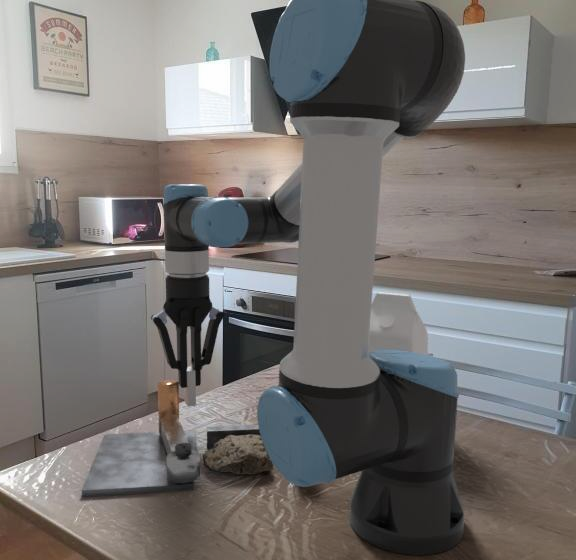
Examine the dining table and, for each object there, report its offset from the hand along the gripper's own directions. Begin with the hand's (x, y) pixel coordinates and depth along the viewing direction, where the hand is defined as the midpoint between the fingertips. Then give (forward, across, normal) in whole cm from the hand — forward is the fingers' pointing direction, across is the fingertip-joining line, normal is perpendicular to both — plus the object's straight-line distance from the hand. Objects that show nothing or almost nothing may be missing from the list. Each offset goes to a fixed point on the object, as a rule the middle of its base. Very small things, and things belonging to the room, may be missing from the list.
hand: (190, 403), depth 106 cm
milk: (+7, -34, +12) cm, 37 cm away
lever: (+4, +5, +9) cm, 11 cm away
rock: (+7, -4, +14) cm, 16 cm away
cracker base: (+6, +1, +10) cm, 12 cm away
